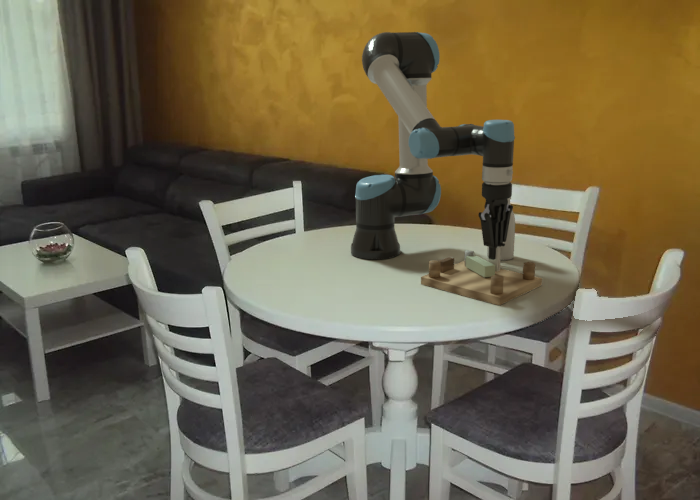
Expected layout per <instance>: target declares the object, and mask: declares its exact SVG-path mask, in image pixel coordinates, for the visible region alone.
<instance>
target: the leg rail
mask: <svg viewBox="0 0 700 500" xmlns="http://www.w3.org/2000/svg"><path fill="white" fill-rule="evenodd" d="M464 261H465V266H466V267H467V268H469V269H470V270H472V271H474V272H476V273H478V274H479V275H481V276H483V277H491V276H493V275H495V265H494V264H492V263H490V262H489V260H486V259H485V258H482V257H480V256H478V255H476V254H475V252H474V250H465V251H464Z"/></svg>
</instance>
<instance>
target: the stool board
mask: <svg viewBox="0 0 700 500" xmlns="http://www.w3.org/2000/svg"><path fill="white" fill-rule="evenodd" d="M542 284H543V277H539V276H536V263H535V262H533V261H524V262H523V265H522V273H521V272H517V271H513V270H508V269H504V268H500V271H498V272H497V271H495V275H493V276H491V277H483V276H481V275H479V274H478V273H476V272H474V271H472V270H470V269H469V268H467V267H466V266H465V260H462V261H461V262H457V263H455V258H454V257H450V256H447V257H445V258H442V259H438V260H436V259H435V260H430V261H428V274H425V275H421V276H420V285H422V286H427V287H431V288H434V289H438V290H441V291H446V292H449V293H453V294H456V295H460V296H463V297H467V298H471V299H474V300H478V301H482V302H485V303H488V304H493V305H496V306H501V305H504V304H506V303H508V302H510V301H511V300H514V299H516V298H519V297H520V296H523V295H525V294H526V293H528V292H529V293H530V292H531V291H533V290H535V289H537V288H540V287H541V286H542Z"/></svg>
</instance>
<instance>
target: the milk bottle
mask: <svg viewBox="0 0 700 500" xmlns="http://www.w3.org/2000/svg"><path fill="white" fill-rule="evenodd" d="M511 200H512V196H511V197H510V198H508V204H509V205H512V203H511ZM513 210H514V209H512V212H511V216H510V221H509V227H508V233H507V239H506V242H503V243H504V244H505V246H501V255H500V261H510V260H512V259H513V258H514V255H515V254H514V252H515V239H516V238H515V235H516V232H515V231H516V217H515V213H514V211H513ZM486 255H487V258H488V259H489V247H488V246H486Z"/></svg>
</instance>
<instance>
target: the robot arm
mask: <svg viewBox="0 0 700 500" xmlns="http://www.w3.org/2000/svg"><path fill="white" fill-rule="evenodd" d="M361 62H362V63H361V64H362V68H363V72H364V73H365V75H366V77H367V78H368V79H369V81H370V82H371V83H372V84H374V85H377V87H378V88H379V89H380V91H381V93H382V94H383V96H384V97H385V99H386V100H387V102H388V103H389V105H390V106H391V107H392V108H393V110H394V112H395V114H396V115H397V116H398V149H399V150H398V151H399V152H398V153H399V154H398V155H399V158H398V159H399V166H398V167H397V169H396V170H395V171H394V175H391V174H374V175H371V176H366V177H363V178H361V179H360V180H359V181H357V183H356V186H355V195H354V197H355V224H356V225H355V226H356V227H355V231H354V235H353V239H352V243H351V245H350V254H351V256H353V257H356V258H357V259H358V258H359V259H363V260H386V259H391V258H395V257H397V256H399V255H400V254H401V245H400V243H399V240H398V236H397V232H396V230H395V229H396V228H395V218H399V217H407V216H415V215H418V216H420V215H423V214H427V213H428V214H429V213H431V212H433V211H434V210H435V209H436V208H437V206H439V203H440V201H441V196H442V187H441V183H440V181H439V180H440V179H438V177H437V176H435V175H434V171H433V169H432V168H431V167H430V166H429V165H428V164H429V162H428V159H429V160H431V159H436V158H437V159H438V158H444V157H445V158H446V157H457V156H469V155H474V156H475V155H476V156H479V157H482V167H481V168H482V173H481V180H482V181H483V182H482V183H481V197H482V198H483V199H485V203H484V210H483V212H480V211H479V212H478V217H479V220H480V226H481V235H482V243H483V246H485V247H487V246H488V247H489V258H488V262H490V263H492V264H494V265H495V271H497V272H498V271H500V269H501V260H500V255H501V246H505V244H504V243H503V242H506V239H507V233H508V227H509V221H510V216H511V212H512V210H514V205H513V204H511V205H509V204H508V198H510V197H511V198H512V195H513V194H512V193H513V183H512V181H513V174H514V170H513V167H514V149H515V138H516V137H515V124H514V122H513V121H512V120H509V119H489V120H486V121H485V122H484V123H483V126H482V125H476V124H473V123H463V124H460V125H458V126H441V125H440V124H439V122H438V121H437V120H436V118H435V117H434V115H433V114H432V113H431V112H430V110H429V109H428V107H427V105H428V103H427V101H428V99H427V98H428V96H427V95H428V94H427V93H428V91H427V86H428V84H429V82H430V81H432V73H434V72H436V71H437V69H438V65H439V64H440V49H439V46H438V44H437V41H436V40H435V39H434V37H433V36H432V35H431V34H429V33H427V32H418V31H408V32H407V31H405V32H401V31H400V32H389V31H383V32H380V33H377V34H375V35H374V36H372V37H371V38H370V39H369V40H368V42H367V43H366V44H365V46H364V48H363V51H362V54H361Z"/></svg>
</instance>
